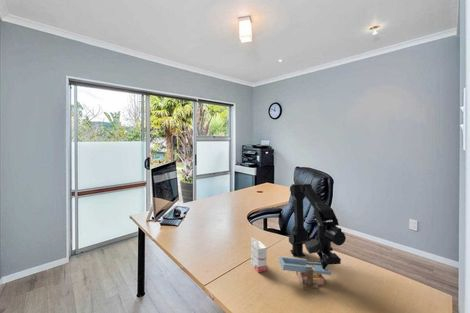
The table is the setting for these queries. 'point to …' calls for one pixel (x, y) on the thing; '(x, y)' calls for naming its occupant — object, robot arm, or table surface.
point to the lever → (301, 265)
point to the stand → (309, 280)
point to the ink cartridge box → (258, 255)
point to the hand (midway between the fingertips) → (323, 268)
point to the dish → (318, 281)
